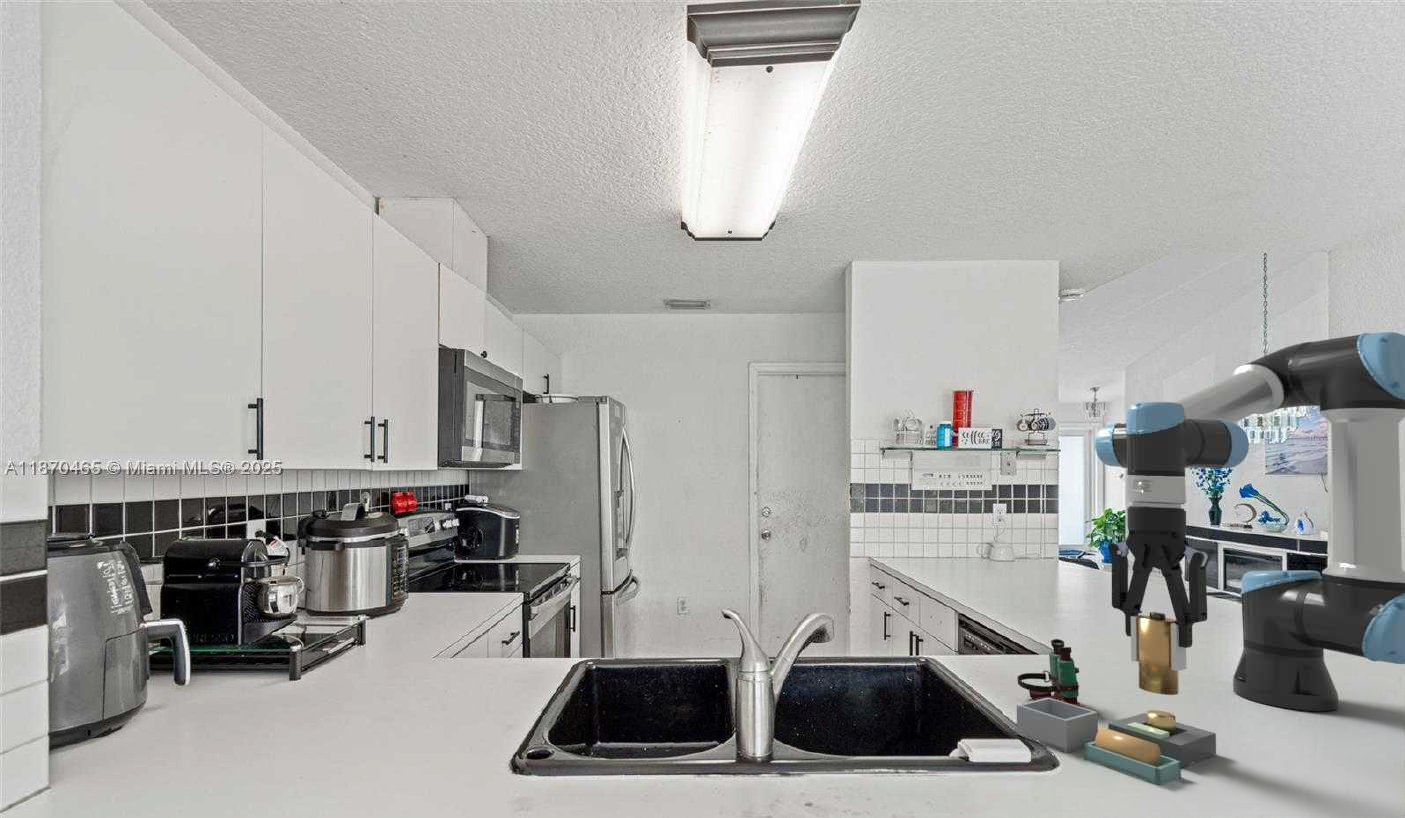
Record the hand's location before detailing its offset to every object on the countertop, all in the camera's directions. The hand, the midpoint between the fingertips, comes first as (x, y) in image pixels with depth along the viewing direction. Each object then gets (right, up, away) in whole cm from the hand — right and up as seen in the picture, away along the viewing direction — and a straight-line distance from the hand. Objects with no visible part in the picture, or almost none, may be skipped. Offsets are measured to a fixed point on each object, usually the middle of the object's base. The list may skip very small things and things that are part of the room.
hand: (1158, 664), depth 110 cm
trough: (-9, -11, -8) cm, 16 cm away
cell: (0, -4, 0) cm, 4 cm away
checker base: (0, -12, -1) cm, 12 cm away
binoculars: (-7, -14, +20) cm, 25 cm away
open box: (-14, -12, +2) cm, 19 cm away
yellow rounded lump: (0, -10, -1) cm, 10 cm away
